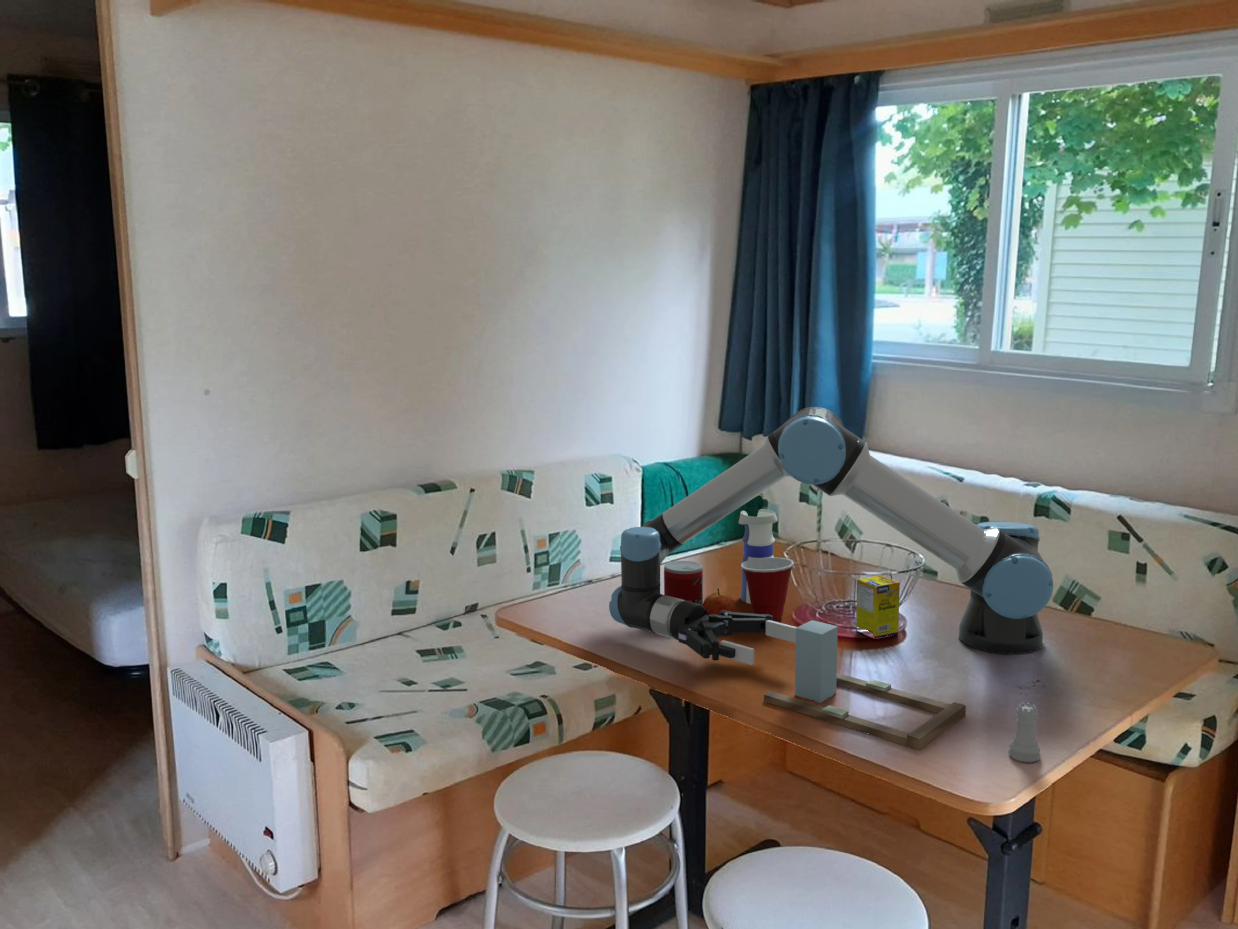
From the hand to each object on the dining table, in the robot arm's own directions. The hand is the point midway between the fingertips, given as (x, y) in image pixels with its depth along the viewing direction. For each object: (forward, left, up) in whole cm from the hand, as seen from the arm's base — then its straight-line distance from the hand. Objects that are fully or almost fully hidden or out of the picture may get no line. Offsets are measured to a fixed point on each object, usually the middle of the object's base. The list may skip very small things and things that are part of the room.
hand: (775, 645), depth 185 cm
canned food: (+21, -32, -7) cm, 39 cm away
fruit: (+13, -27, -7) cm, 31 cm away
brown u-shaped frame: (-14, +8, -7) cm, 17 cm away
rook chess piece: (-38, +22, -7) cm, 44 cm away
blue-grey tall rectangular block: (-7, +4, -7) cm, 10 cm away
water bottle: (+7, -46, -7) cm, 47 cm away
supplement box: (-18, -28, -7) cm, 34 cm away
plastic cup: (+4, -34, -7) cm, 35 cm away
